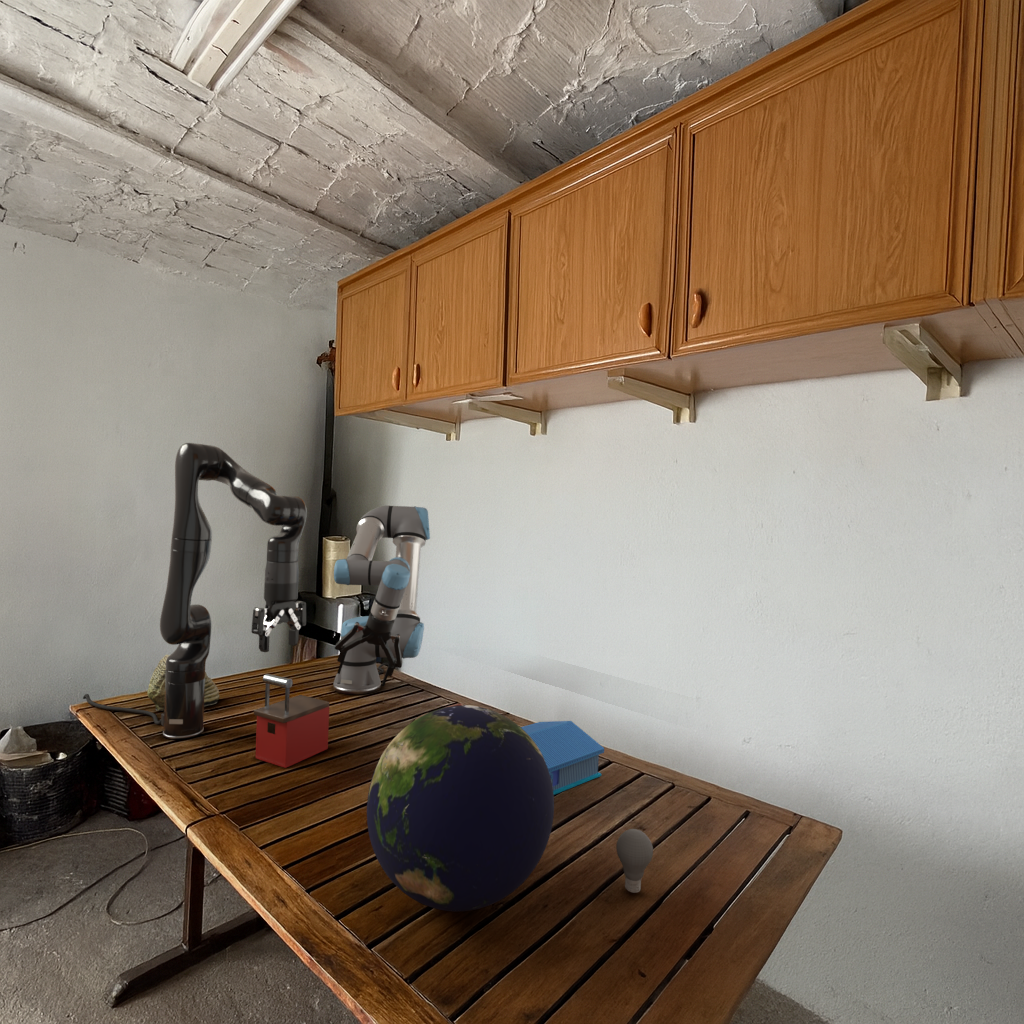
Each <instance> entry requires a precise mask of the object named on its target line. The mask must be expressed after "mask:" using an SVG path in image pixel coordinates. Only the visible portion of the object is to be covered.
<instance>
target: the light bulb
mask: <svg viewBox="0 0 1024 1024" xmlns="http://www.w3.org/2000/svg"><path fill="white" fill-rule="evenodd" d="M615 849H616V854H617V857H618V859H619V861H620V863H621V865H622V867H623V873H624V874H623V875H624V876H625V878H624V888H625V890H627V891H628V892H630V893H634V894H635V893H639V892H640V891H641V889H642V887H641V886H642V879H643V877H644V875H645V871H646V868H647V867H648V866H649V864H650V863H651V861H652V859H653V855H654V847H653V843H652V841H651V838H649V836H648V835H647V834H646V833H645V832H643V831H642V830H641V829H636V828H629V829H627V830H625V831H623V832H622V833H621V834H620V835H619V837H618V839H617V841H616V847H615Z"/></svg>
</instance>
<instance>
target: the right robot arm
mask: <svg viewBox="0 0 1024 1024" xmlns="http://www.w3.org/2000/svg"><path fill="white" fill-rule="evenodd" d="M355 530H356V535H355V537H354V539H353V542H352V544H351V547H350V549H349V551H348V554H347V556H346V558H342V559H337V560H336V561H335V563H334V567H333V579H334V582H335V584H337V585H343V586H344V585H346V586H372V587H373V586H374V587H375V586H376V587H378V588H377V590H376V591H377V592H376V594H375V597H374V600H373V603H372V606H371V607H370V612H369V614H368V615H365V616H357V617H352V618H349V619H346V620H344V622H343V623H342V624H341V631H340V635H339V636H340V639H339V640H338V641H337V642H336V643H335V646H334V649H335V651H338V652H339V654H338V657H337V659H336V660H337V661H336V662H338V663H339V666H338V669H337V672H336V675H335V677H334V680H333V683H332V684H333V686H332V687H333V688H332V689H333V691H335V692H336V693H338V694H342V695H353V696H354V695H356V696H357V695H367V694H372V693H375V692H377V691H379V690H381V687H385V685H386V683H387V679H388V677H391V678H392V676H393V674H394V671H395V669H396V668H399V669H400V668H402V667H403V660H404V659H414V658H417V657H418V656H419V654H420V652H421V649H422V643H423V640H424V639H423V637H424V631H425V623H424V622H422V621H421V617H420V615H419V614H417V607H418V593H419V592H418V591H419V578H420V567H421V566H420V564H421V551H422V548H423V547H424V546H425V545H426V543H427V541H428V540H430V539H431V533H430V532H431V531H430V519H429V510H428V508H426V507H421V506H405V505H403V506H402V505H381V506H377V507H375V508H372V509H370V510H369V511H367V512H366V513H364V514H363V515H362V516H361V518H359V520H358V523H357V525H356V529H355ZM384 538H387V539H392V543H393V544H394V546H395V547H396V548H395V549H396V550H395V557H393V558H391V559H389V560H373V558H374V555H375V552H376V549H377V546H378V543H379V541H381V539H384ZM377 658H386V659H387V661H388V662H383V663H381V664H380V665H378V666H377ZM383 666H386V667H387V668H386V670H385V669H383V668H382V667H383ZM384 672H385V673H384ZM383 673H384V676H383V679H382V682H381V678H380V674H383Z"/></svg>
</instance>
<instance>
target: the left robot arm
mask: <svg viewBox="0 0 1024 1024" xmlns="http://www.w3.org/2000/svg"><path fill="white" fill-rule="evenodd" d="M199 481H206V482H207V481H208V482H210V481H215V482H219V483H222V484H225V485H227V486H228V487H229V490H230V492H231V494H232V495H233V497H234V498H235V499H236V500H238V501H239V502H240V503H242V504H244V505H246V506H247V507H249V508H250V509H252V510H253V511H254V513H255V514H256V515H257V516H258V518H259V519H260V520H261V521H262V522H263V523H265V524H267V525H270V526H276V527H277V526H281V528H280V530H279V533H277V534H276V535H273V536H270V537H269V538H268V540H267V543H266V560H265V561H266V562H265V568H264V586H263V587H264V588H263V599H264V601H265V606H264V607H257V606H256V607H254V608H253V609H252V619H251V631H250V633H252V634H254V635H258V649H259V651H260V652H262V653H269V651H270V635H271V632H272V631H273V629H275V628H276V626H277V625H280V624H282V623H286V624H287V625H288V627H289V629H288V645H289V646H293V647H294V646H297V645H298V643H299V638H300V637H299V632H300V629H301V628H302V627H306V625H307V603H306V601H302V600H298V598H299V571H300V570H299V544H300V541H301V538H302V535H303V531H304V528H305V525H306V522H307V518H308V517H307V516H308V509H307V505H306V503H305V501H304V500H303V499H302V498H301V497H300V496H296V495H278V493H277V491H276V489H275V488H274V487H273V486H272V485H270V484H269V483H267V482H266V481H264V480H262V479H260V478H259V477H257V476H255V475H253V474H252V473H250V472H249V471H247V470H246V469H245V468H243V466H241V465H239V463H238V462H237V461H235V460H234V459H233V458H232V457H231V456H230V455H229V454H228V453H227V452H225V451H224V450H223V449H222V448H220V447H219V446H216V445H211V444H204V443H195V442H185V443H183V444H182V445H180V446H179V448H178V450H177V453H176V456H175V463H174V498H175V499H174V513H173V524H172V533H171V539H170V540H171V543H170V555H169V567H168V574H167V583H166V588H165V594H164V600H163V603H162V608H161V614H160V618H159V631H160V635H161V637H162V639H163V641H164V642H165V643H167V644H168V645H172V646H176V645H178V646H176V648H175V650H174V651H173V652H172V653H170V654H169V655H170V656H169V657H168V658H167V660H166V674H165V705H164V710H163V713H161V714H160V720H159V718H158V716H157V714H156V713H154V712H152V711H149V710H145V709H144V710H143V709H138V708H130V707H121V706H111V705H105V704H100V703H99V702H95V701H93V700H92V699H91V697H90V695H89V694H88V693H85V694H84V695H83V697H82V699H83V700H85V701H86V702H87V704H89V705H91V706H93V707H95V708H98V709H101V710H107V711H114V712H125V713H132V714H133V713H134V714H139V715H146V716H149V717H151V718H152V720H153V722H154V724H155V725H157V726H160V725H161V726H162V727H163V731H162V737H164V738H166V739H169V740H185V739H190V738H191V739H192V738H194V737H197V736H199V735H202V734H203V732H204V730H205V729H204V722H205V721H204V718H205V706H204V693H205V672H206V664H207V663H206V662H207V659H208V657H209V654H210V649H211V648H210V647H211V639H212V617H211V614H210V612H209V610H208V609H207V608H206V607H205V606H204V605H201V604H196V603H195V604H192V597H193V592H194V589H195V587H196V585H197V583H198V581H199V579H200V578H201V576H202V574H203V573H204V570H205V569H206V567H207V565H208V562H209V560H210V558H211V557H210V556H211V552H212V541H213V529H212V526H211V524H210V522H209V520H208V518H207V516H206V514H205V512H204V510H203V508H202V506H201V503H200V499H199Z"/></svg>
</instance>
